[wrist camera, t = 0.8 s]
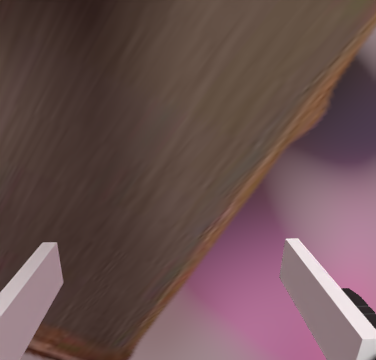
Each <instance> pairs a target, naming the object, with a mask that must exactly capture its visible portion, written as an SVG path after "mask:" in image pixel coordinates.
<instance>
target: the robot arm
mask: <svg viewBox="0 0 376 360" xmlns="http://www.w3.org/2000/svg"><path fill="white" fill-rule="evenodd" d="M280 279H281V281H282V283H283V284H284V286H285V288H286V290H287V291H288V293H289V295H290V296H291V298H292V300H293V302H294V303H295V305H296V307H297V309H298V310H299V312H300V314H301V316H302V317H303V319H304V321H305V323H306V324H307V326H308V328H309V330H310V331H311V333H312V335H313V336H314V338H315V340H316V342H317V343H318V345H319V347H320V349H321V350H322V352H323V354H324V355H325V357H326V359H327V360H376V314H375V312H374V311H373V310H372V309H371V308H370V307H368V304H366V302H365V301H364V300H363V299H362V298H361V297H360V296H359V295H358V294H356V293H355V292H353V291H352V290H350V289H349V288H343V289H341V288H340V287H339V286H338V285H337V283H336V282H335V281H334V280H333V279H332V278H331V276H330V275H329V274H328V273H327V272H326V271H325V269H324V268H323V267H322V266H321V265H320V264H319V262H318V261H317V260H316V259H315V258H314V257H313V255H312V254H311V253H310V252H309V251H308V250H307V248H306V247H305V246H304V245H303V244H302V243H301V241H300V240H299V239H285V245H284V251H283V258H282V264H281V270H280ZM62 284H63V277H62V271H61V265H60V259H59V252H58V246H57V242H43V243H42V244H41V245H40V246H39V247H38V249H37V250H36V251H35V252H34V253H33V255H32V256H31V257H30V258H29V259H28V260H27V262H26V263H25V264H24V265H23V266H22V268H21V269H20V270H19V271H18V272H17V273H16V275H15V276H14V277H13V278H12V279H11V281H10V282H9V283H8V284H7V285H6V286H5V288H4V289H3V290H2V291H1V292H0V360H20V359H21V357H22V355H23V354H24V352H25V350H26V348H27V347H28V345H29V343H30V341H31V339H32V338H33V336H34V334H35V332H36V331H37V329H38V327H39V325H40V323H41V322H42V320H43V318H44V316H45V315H46V313H47V311H48V309H49V307H50V306H51V304H52V302H53V300H54V299H55V297H56V295H57V293H58V291H59V290H60V288H61V286H62Z"/></svg>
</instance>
